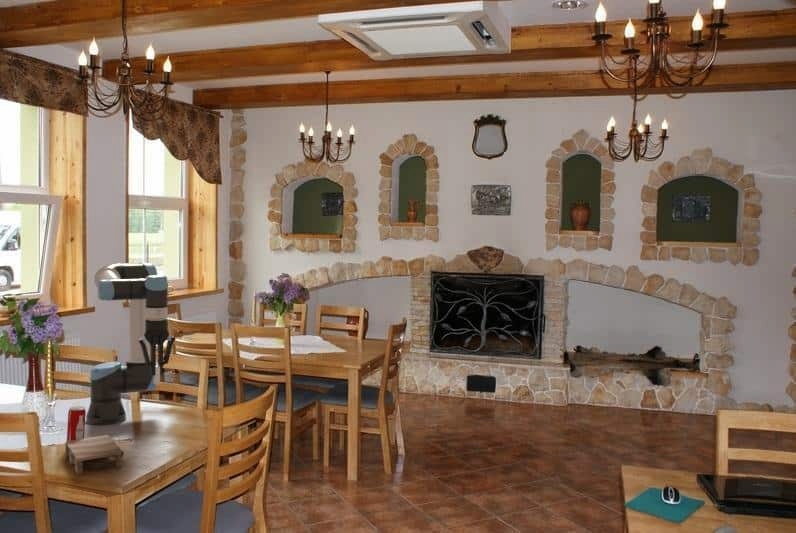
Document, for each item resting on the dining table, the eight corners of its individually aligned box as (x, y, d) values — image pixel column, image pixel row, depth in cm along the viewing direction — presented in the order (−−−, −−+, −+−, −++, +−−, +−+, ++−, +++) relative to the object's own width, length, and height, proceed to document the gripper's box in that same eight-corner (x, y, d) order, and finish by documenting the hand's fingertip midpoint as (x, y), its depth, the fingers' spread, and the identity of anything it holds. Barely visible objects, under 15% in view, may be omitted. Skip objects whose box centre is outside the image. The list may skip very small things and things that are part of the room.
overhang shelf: (65, 458, 240) (65, 441, 240) (108, 451, 248) (108, 434, 248) (77, 477, 224) (77, 459, 223) (122, 468, 232) (122, 451, 231)
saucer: (119, 469, 231) (119, 461, 231) (72, 472, 229) (72, 464, 228) (127, 454, 246) (127, 447, 246) (83, 456, 243) (83, 449, 243)
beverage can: (66, 446, 252) (66, 406, 251) (86, 444, 254) (85, 405, 253) (66, 452, 246) (65, 410, 245) (85, 450, 249) (85, 409, 248)
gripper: (140, 321, 239) (140, 388, 241) (178, 319, 246) (178, 383, 248) (134, 318, 245) (135, 383, 247) (171, 316, 252) (172, 379, 254)
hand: (156, 383), depth 247 cm, fingers closed
